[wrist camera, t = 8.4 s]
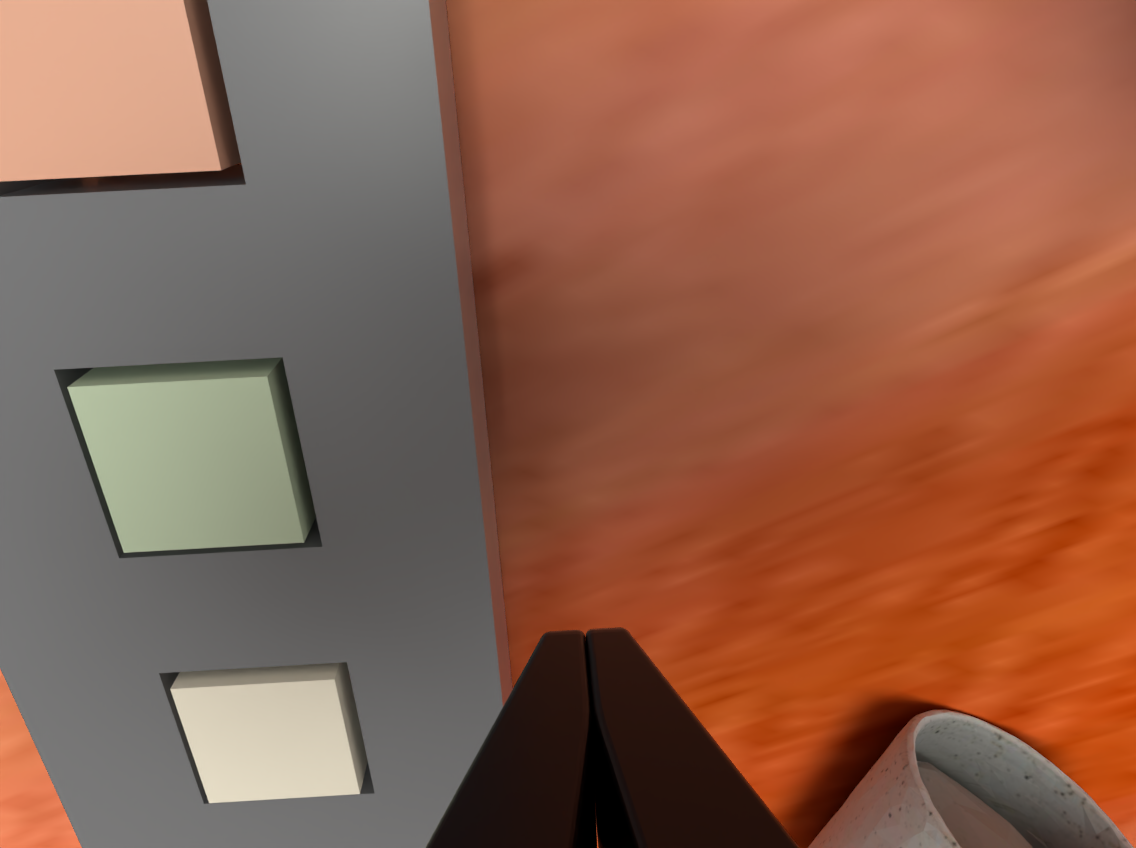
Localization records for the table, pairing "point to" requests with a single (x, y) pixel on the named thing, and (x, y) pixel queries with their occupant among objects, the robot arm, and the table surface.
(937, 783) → the ceramic mug
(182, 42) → the terracotta button
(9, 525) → the console
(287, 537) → the sage button
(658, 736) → the robot arm
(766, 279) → the table surface
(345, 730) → the cream button
